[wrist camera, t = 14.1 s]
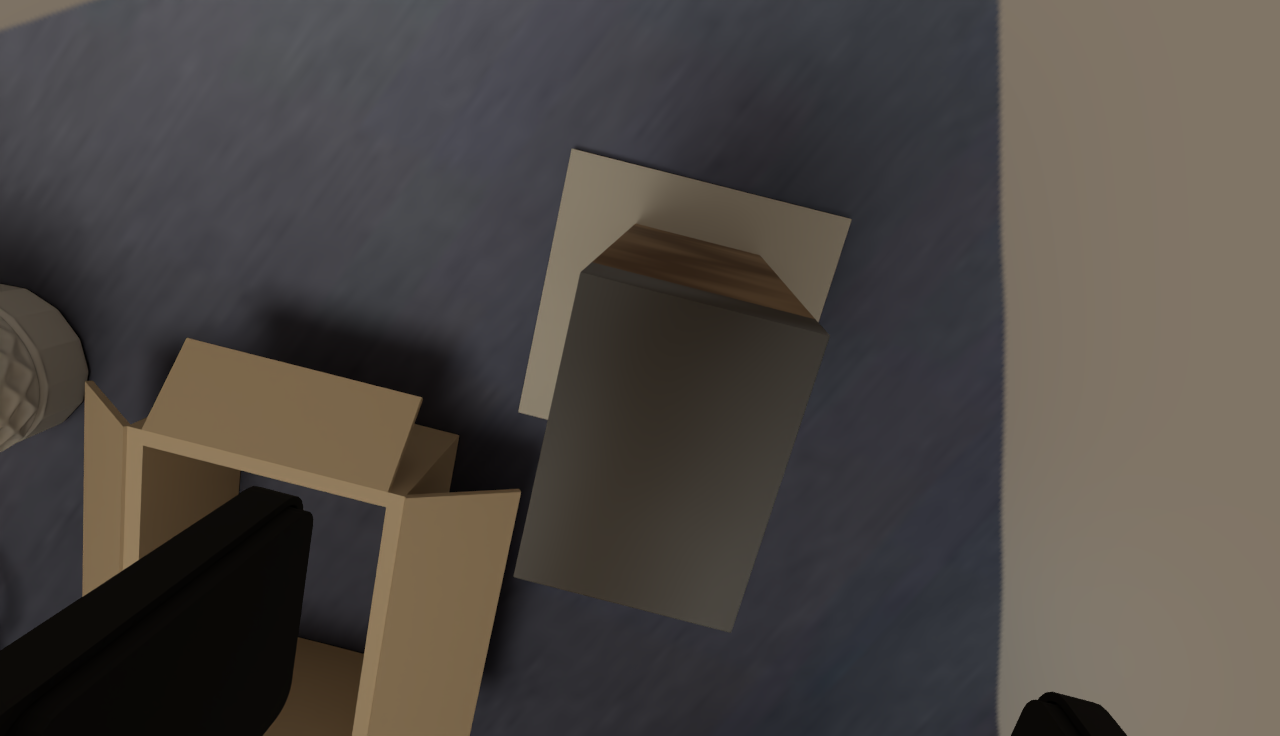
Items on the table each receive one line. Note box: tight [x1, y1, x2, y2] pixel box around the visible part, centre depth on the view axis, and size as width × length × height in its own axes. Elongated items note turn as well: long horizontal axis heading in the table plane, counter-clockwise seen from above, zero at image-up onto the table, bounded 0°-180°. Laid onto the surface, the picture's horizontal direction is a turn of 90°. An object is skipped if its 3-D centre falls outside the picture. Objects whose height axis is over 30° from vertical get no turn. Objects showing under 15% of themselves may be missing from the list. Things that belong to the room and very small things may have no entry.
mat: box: [518, 149, 852, 420], centre depth 28 cm, size 11×11×1 cm
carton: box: [83, 338, 521, 736], centre depth 29 cm, size 18×19×6 cm
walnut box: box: [513, 224, 830, 633], centre depth 21 cm, size 5×7×14 cm
